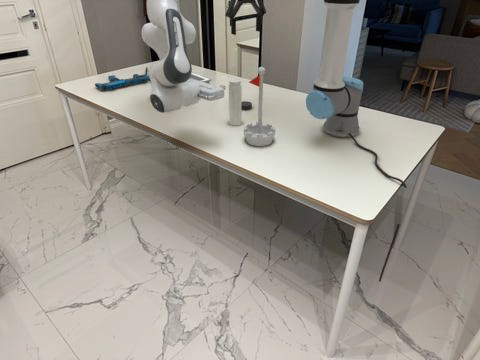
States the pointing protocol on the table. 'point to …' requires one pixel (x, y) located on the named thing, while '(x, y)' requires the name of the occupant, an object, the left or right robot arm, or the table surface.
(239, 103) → the jar
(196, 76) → the tablet
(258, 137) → the flag stand
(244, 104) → the lid
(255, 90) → the table surface
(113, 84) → the submachine gun
